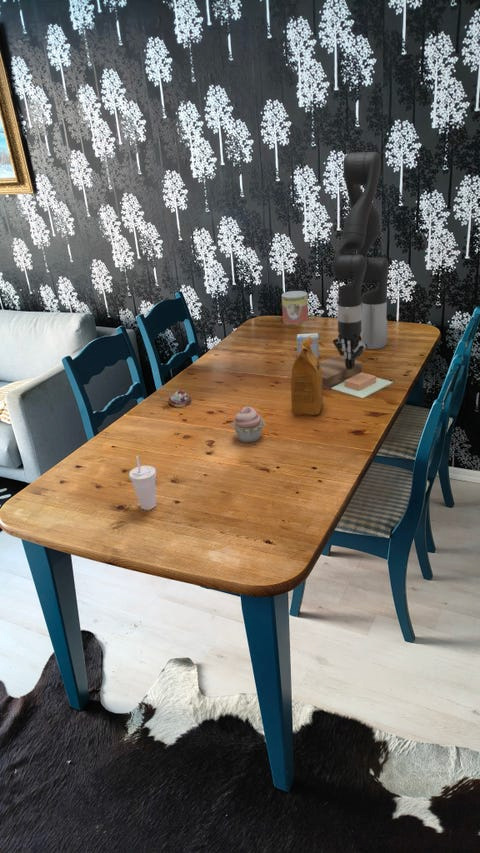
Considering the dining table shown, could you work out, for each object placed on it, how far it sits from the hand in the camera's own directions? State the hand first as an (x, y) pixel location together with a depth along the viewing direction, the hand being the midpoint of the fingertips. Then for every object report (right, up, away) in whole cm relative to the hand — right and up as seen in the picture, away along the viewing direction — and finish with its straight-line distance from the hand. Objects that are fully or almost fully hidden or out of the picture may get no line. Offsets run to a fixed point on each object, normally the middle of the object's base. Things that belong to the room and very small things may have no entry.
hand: (349, 368), depth 206 cm
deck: (-5, -2, +8) cm, 9 cm away
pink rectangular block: (+3, -3, -2) cm, 5 cm away
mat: (+4, -6, -1) cm, 7 cm away
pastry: (-56, -12, -1) cm, 57 cm away
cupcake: (-34, -23, -28) cm, 49 cm away
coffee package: (-15, -14, -14) cm, 25 cm away
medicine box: (-11, +7, +27) cm, 30 cm away
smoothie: (-59, -39, -56) cm, 90 cm away
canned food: (-12, +28, +70) cm, 76 cm away
